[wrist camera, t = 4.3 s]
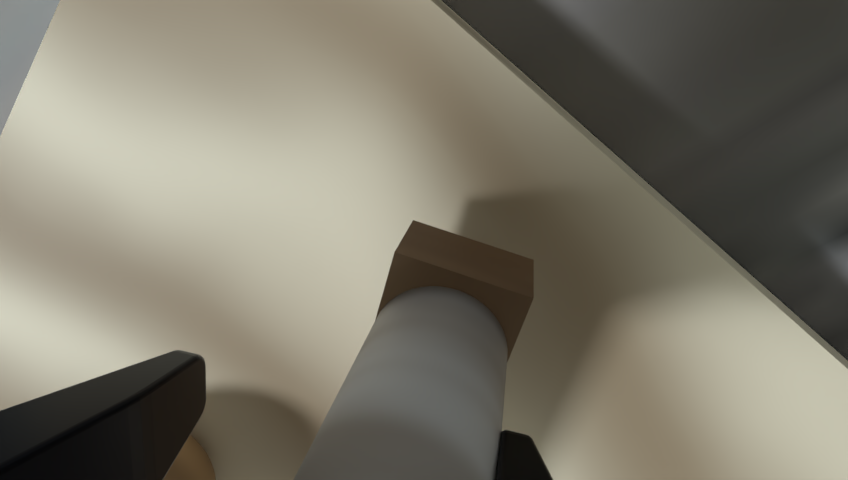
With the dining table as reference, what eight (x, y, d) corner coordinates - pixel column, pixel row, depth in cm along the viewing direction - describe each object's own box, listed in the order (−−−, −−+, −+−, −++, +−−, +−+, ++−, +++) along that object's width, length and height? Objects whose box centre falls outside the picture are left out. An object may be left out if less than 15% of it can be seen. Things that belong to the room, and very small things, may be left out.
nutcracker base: (392, 727, 21) (347, 953, 16) (-79, 394, 19) (-302, 534, 14) (912, 418, 13) (1146, 669, 8) (209, -206, 11) (-59, -386, 6)
